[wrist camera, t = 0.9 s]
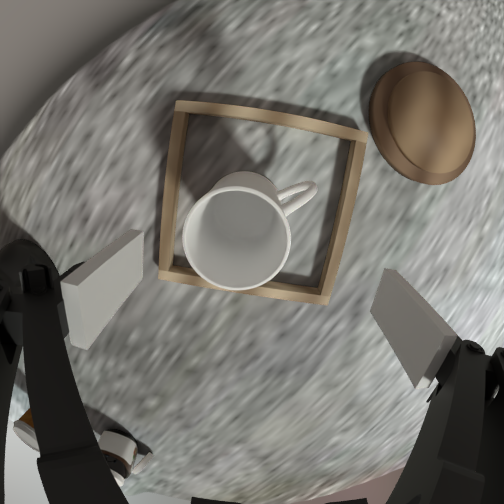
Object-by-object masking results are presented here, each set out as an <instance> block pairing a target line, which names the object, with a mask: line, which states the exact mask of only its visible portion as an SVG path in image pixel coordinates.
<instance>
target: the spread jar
mask: <svg viewBox="0 0 504 504" xmlns="http://www.w3.org/2000/svg"><path fill="white" fill-rule="evenodd" d="M98 444H99V446H100V449H101V451H102V453H103V455H104V457H105V460H106V462H107V464H108V466H109V468H110V470H111V472H112V474H113V476H114V478H115V480H116V482H117V483H118V485H119V486H122V485H123V482H124V479H126V478H128V477H129V476H130V474H131V471H132V472H133V473H134V474H135V475H137V474H138V473H139V472H140V471H141V470H142V469H143V468H144V467H145V466H146V465H147V464H148V463H149V461H150V460H151V459H152V458H153V457H154V455H153V454H151V453H150V452H149V453H148V454H147V455H146V456H145V457H144V458H143V459H142V460H141V461H140V462H139V463H138V464H137V465H136V466H135V467H134V469H133V466H134V463H135V460H136V456H137V451H138V444H137V442H136V440H135V439H134V438H133V437H132V436H130V435H129V434H127V433H125V432H123V431H120V430H115V429H108V430H105V431H104V432H103V433H102V435H101V437H100V439H99V441H98ZM132 469H133V470H132Z"/></svg>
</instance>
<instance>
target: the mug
mask: <svg viewBox="0 0 504 504" xmlns="http://www.w3.org/2000/svg"><path fill="white" fill-rule="evenodd" d="M303 190H305V191H304V192H303V193H301V194H300V195H298V196H297V197H295V198H294V199H292V200H290V201H289V202H287V203H284V204H282V199H283V198H285V197H287V196H289V195H292V194H294V193H297V192H300V191H303ZM316 192H317V186H316V184H315V183H314V182H313V181H305V182H301V183H298V184H295V185H292V186H290V187H287V188H285V189H283V190H281V191H278V190H277V188H276V187H275V186H274V184H273V183H272V182H271V181H269V180H268V179H267V178H265V177H264V176H262V175H260V174H257V173H254V172H249V171H240V172H234V173H231V174H229V175H226V176H225V177H223V178H222V179H220V180H219V181H218V182H217V183H216V184H215V185H214V186H213V188H212V189H211V190H210V191H209V192H208V193H206V194H205V195H204V196H203V197H202V198H200V199H199V200H198V201H197V202H196V203H195V204H194V206H193V207H192V208H191V210H190V211H189V213H188V215H187V217H186V220H185V223H184V226H183V233H182V241H183V248H184V252H185V255H186V257H187V259H188V261H189V263H190V265H191V266H192V268H193V269H194V270H195V271H196V272H197V274H198V275H200V276H201V277H202V278H203V279H204V280H206V281H207V282H209V283H211V284H213V285H215V286H217V287H220V288H224V289H228V290H247V289H252V288H255V287H258V286H260V285H263V284H264V283H266V282H268V281H269V280H271V279H272V278H273V277H274V276H275V275H276V274H277V273H278V272H279V271H280V270H281V268H282V267H283V265H284V264H285V262H286V260H287V257H288V254H289V251H290V245H291V233H290V228H289V224H288V221H287V218H286V217H287V216H288V215H289V214H290V213H291V212H293V211H294V210H296V209H298V208H299V207H301V206H302V205H304V204H305V203H306V202H308V201H309V200H310V199H311V198H312V197H313V196H314V195H315V194H316Z"/></svg>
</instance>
